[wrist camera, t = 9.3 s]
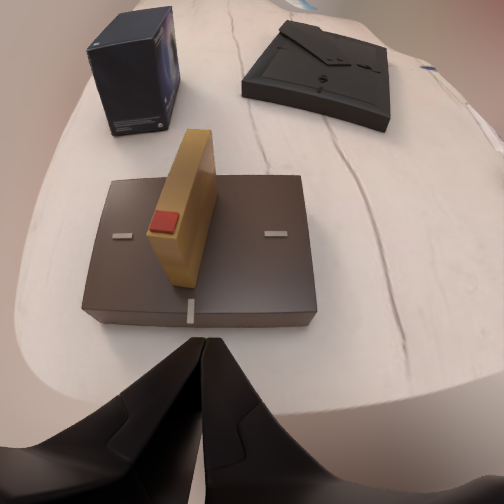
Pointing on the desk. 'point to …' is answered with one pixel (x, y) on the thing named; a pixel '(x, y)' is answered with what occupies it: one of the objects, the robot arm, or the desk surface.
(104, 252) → the plate
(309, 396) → the desk surface
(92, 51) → the small box
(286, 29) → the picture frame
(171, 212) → the yellow rectangular slab
